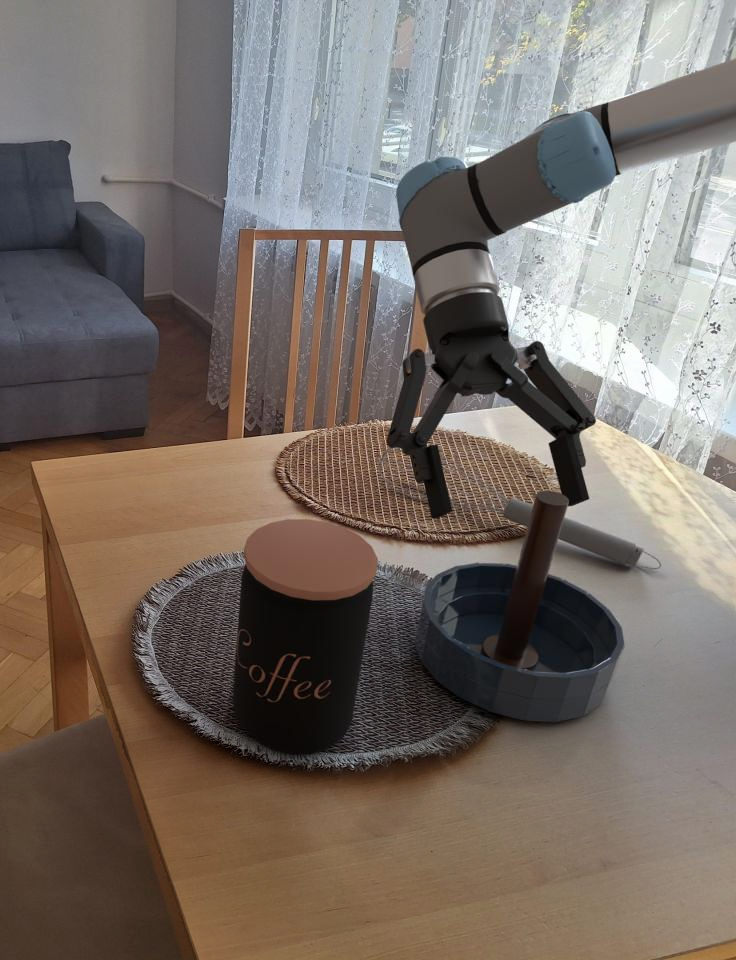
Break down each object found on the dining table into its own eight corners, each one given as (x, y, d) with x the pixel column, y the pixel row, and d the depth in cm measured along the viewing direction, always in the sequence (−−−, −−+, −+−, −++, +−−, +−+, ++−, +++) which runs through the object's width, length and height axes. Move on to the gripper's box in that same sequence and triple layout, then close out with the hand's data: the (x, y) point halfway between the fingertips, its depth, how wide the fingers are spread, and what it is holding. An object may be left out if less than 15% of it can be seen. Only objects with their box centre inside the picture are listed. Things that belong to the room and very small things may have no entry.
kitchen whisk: (651, 587, 94) (668, 538, 91) (365, 490, 114) (371, 448, 111) (664, 563, 98) (681, 515, 95) (386, 473, 118) (392, 432, 115)
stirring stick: (536, 647, 85) (582, 489, 76) (537, 680, 81) (586, 517, 72) (481, 635, 86) (521, 479, 78) (480, 666, 82) (521, 506, 74)
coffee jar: (208, 717, 79) (217, 553, 70) (276, 660, 85) (292, 505, 76) (307, 781, 72) (331, 609, 63) (373, 715, 78) (403, 551, 70)
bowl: (599, 631, 88) (615, 584, 85) (613, 750, 74) (633, 698, 71) (422, 594, 94) (431, 548, 91) (405, 697, 80) (415, 647, 77)
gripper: (554, 315, 92) (606, 507, 86) (329, 330, 89) (368, 529, 83) (599, 280, 84) (659, 487, 79) (356, 295, 82) (400, 510, 76)
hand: (510, 509), depth 81 cm, fingers open, 13 cm apart
